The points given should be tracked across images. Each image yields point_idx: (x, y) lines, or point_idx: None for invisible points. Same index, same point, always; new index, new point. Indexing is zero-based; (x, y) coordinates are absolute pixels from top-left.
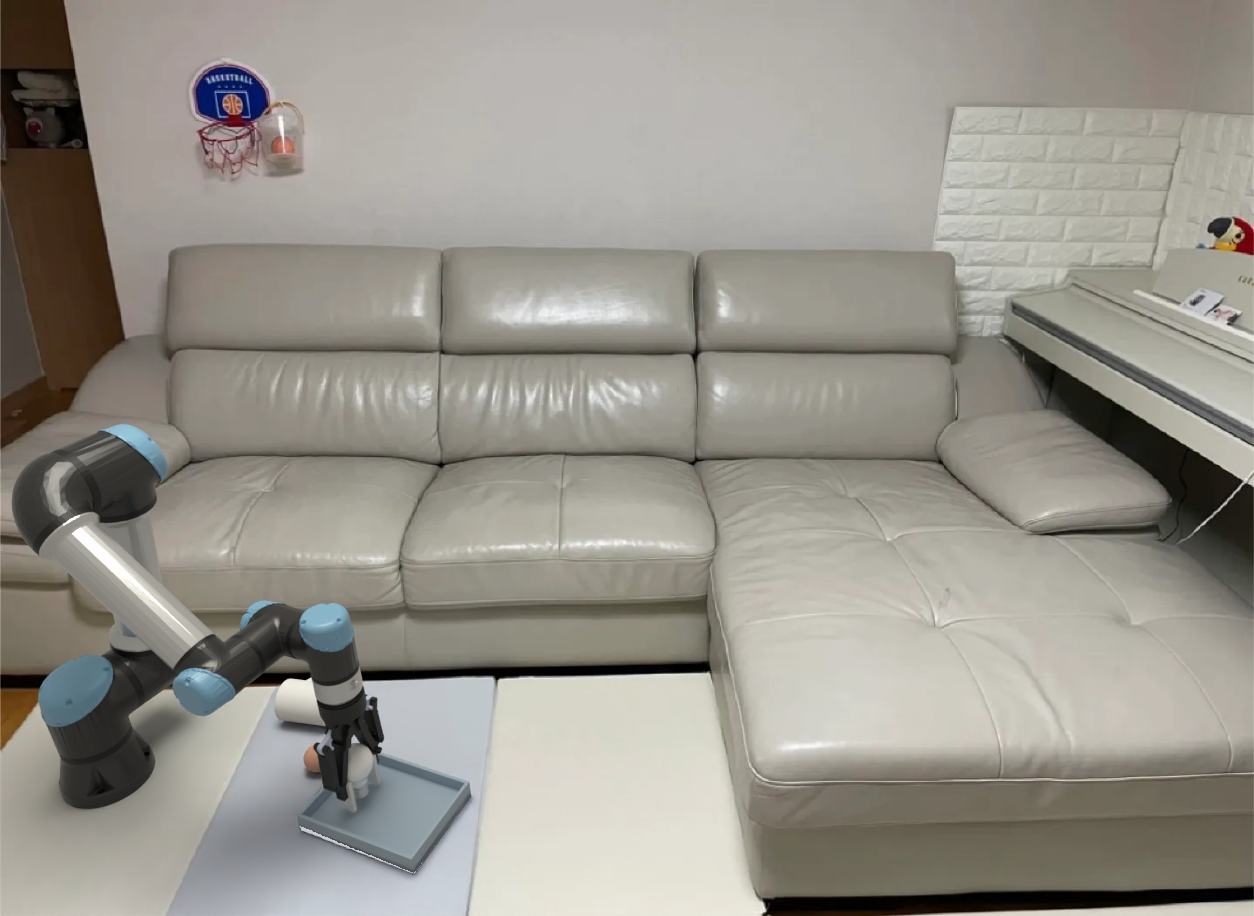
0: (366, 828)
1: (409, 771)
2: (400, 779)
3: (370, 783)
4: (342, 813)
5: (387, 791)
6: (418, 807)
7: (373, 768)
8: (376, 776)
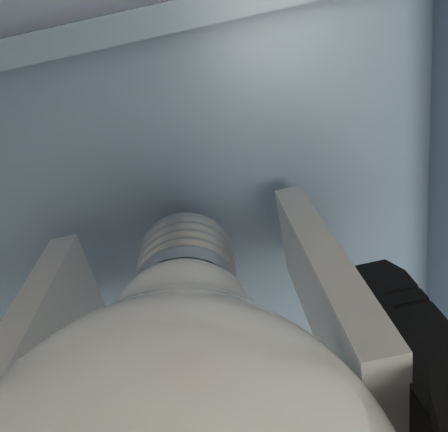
0: None
1: (434, 298)
2: None
3: (287, 182)
4: (58, 223)
5: (290, 288)
6: None
7: None
8: (303, 307)
